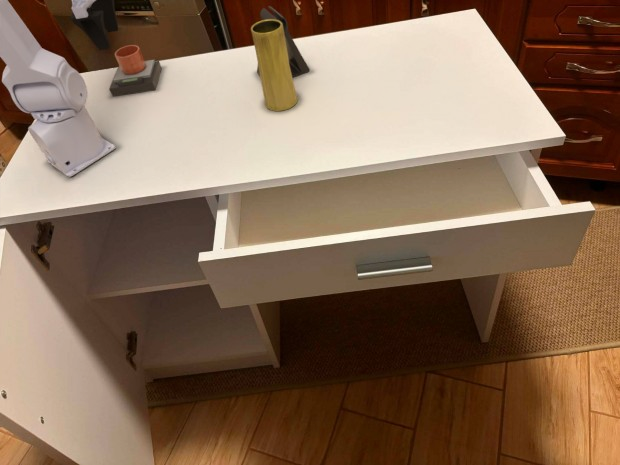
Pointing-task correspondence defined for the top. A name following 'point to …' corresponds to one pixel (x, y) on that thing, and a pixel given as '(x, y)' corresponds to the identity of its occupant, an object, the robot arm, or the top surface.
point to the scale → (136, 80)
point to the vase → (274, 65)
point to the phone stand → (287, 45)
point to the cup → (130, 59)
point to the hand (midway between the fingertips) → (109, 39)
